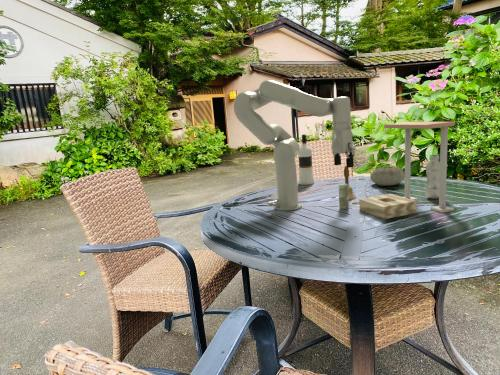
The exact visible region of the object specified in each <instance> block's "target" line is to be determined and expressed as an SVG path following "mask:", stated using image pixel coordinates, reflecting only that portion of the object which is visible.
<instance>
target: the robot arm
mask: <svg viewBox="0 0 500 375" xmlns="http://www.w3.org/2000/svg"><path fill="white" fill-rule="evenodd" d="M272 102H273V103H277V104H280V105H282V106H286V107H289V108H291V109H294V110H297V111H300V112H302V113H305V114H309V115H312V116H315V117H319V118H320V117H321V118H322V117H326V116H327V117H328V116H330V115H331V116H332V117H331V118H332V134H331V150H332V151H331V152H332V155H333V162H334V164H333V165H334V166H341V165H342V156H341V155H344V154H345V157H346V158H345V161H346V163H345V165H346V167H347V168H348V169H349V168H354V167H355V165H354V157H355V154H356V147H355V146H354V141H353V140H354V139H353V133H352V120H351V117H352V115H351V113H352V112H351V99H350V97H349V96H338V97H333V98H325V97H324V98H323V97H318V96H314V95H313V94H308V93H307V92H304V91H302V90H300V89H299V88H298V87H297V88H296V87H293V86H290V85H287V84H284V83H280V82H278V81H276V80H271V79H266V80H264V81H262V82H261V83H260V84H259V87H258V88H257V89H255V90H253V91H242V92H240V93H238V94H237V95H236V96H235V98H234V101H233V112H234V115H235V117H236V119H237V120H238V121H239V123H241V124H242V125H243V126H244V127H245V128H246V129H247V130H248V131H249V132H250V133H252V135H254V136H255V137H256V139H257V140H259V141H260V143H262V144H263V145H265V146H271V145H272V146H273V147H274V148H273V154H272V155H273V159H274V160H273V161H274V166H275V178H276V188H277V189H276V190H277V198H275V199H274V200H273V201H271V200H270V201H268V202H267V205H268V206H269V207H270V206H271V207H272V206H273V207H274V209H275V210H277V211H283V212H284V211H285V212H288V211H297V210H299V209H301V208H302V207H303V205H302V203H301V202H299V191H298V189H299V188H298V175H297V173H298V172H297V164H296V157H297V156H298V153H299V150H300V147H301V146H300V143H299V142H298V141H297V140H296V139H295V138H294V137H293V136H292V135H291V134H290V133H289V132H287V130H285V129H284V128H283V127H282V126H280V125H279V124H277V123H269V122H268V121H267V120H266V119H264V117H262V115H260V114H259V113H258V112H256V111H255V110H258V109H260V108H262V107H265V106H266V105H268V104H270V103H272Z"/></svg>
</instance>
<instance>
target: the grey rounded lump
mask: <svg viewBox="0 0 500 375" xmlns="http://www.w3.org/2000/svg"><path fill="white" fill-rule="evenodd" d="M369 176H370V180H371V181H372V182H373V183H374V184H375V185H378V186H383V187H385V186H395V185H399V184H401V182H403V180H405V170H404V171H403V169H401V168H400V167H397V166H382V167H381V166H380V167H378V168H376V169H375V170H372V172H371V173H370V175H369Z"/></svg>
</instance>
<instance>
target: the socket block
mask: <svg viewBox="0 0 500 375" xmlns="http://www.w3.org/2000/svg"><path fill="white" fill-rule="evenodd" d="M404 197H405V196H400V195H398V194H393V193H388V194H386V193H385V194H382V195H381V194H380V195H376V196H369V197H364V198H359V202H358V203H359V211H360V212H363V211H364V212H363V213H366V214H369V215H372V216H374V217H377V218H379V219H381V220H387V219H391V218H392V219H393V218H397V217H402V216H403V217H404V216H408V215H409V216H410V215H414V214H417V213H418V210H417V209H418V205H417V204H418V202H417V201H415V200H411V199H407V198H404Z"/></svg>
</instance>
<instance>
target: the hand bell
mask: <svg viewBox="0 0 500 375" xmlns="http://www.w3.org/2000/svg"><path fill="white" fill-rule="evenodd" d="M343 176H344V180H345V181H344V184H348V201H351V200H355V199H357V197H356V195H355V194H354V193H353V192H354V191H353V187H352V186H350V184H349V183H350V182H349V177H350V170H349V168H347V167H346V166H344V168H343Z"/></svg>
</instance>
